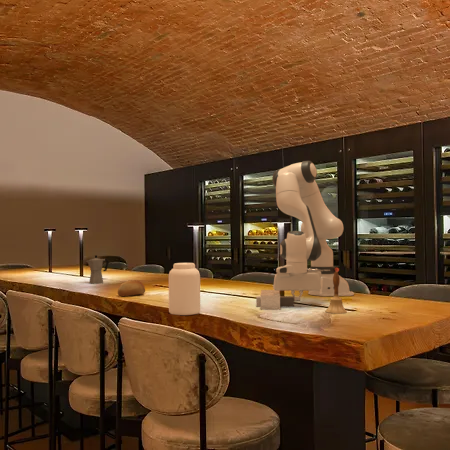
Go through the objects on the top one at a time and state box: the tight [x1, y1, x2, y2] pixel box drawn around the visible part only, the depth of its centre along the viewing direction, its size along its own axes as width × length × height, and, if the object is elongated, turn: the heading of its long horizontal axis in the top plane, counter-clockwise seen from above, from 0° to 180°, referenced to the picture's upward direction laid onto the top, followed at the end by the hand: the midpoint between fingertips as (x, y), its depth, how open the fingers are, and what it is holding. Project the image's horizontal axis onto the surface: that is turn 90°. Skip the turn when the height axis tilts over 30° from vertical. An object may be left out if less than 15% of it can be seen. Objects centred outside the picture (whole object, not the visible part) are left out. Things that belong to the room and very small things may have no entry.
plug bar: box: [255, 295, 295, 308], centre depth 223 cm, size 16×4×4 cm, turn 85°
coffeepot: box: [85, 255, 110, 285], centre depth 336 cm, size 15×9×18 cm, turn 125°
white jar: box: [168, 262, 201, 316], centre depth 207 cm, size 12×12×20 cm
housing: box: [259, 289, 281, 311], centre depth 224 cm, size 8×20×6 cm, turn 175°
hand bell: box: [325, 271, 348, 315], centre depth 205 cm, size 8×8×16 cm
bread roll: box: [117, 279, 146, 298], centre depth 266 cm, size 10×15×8 cm, turn 128°
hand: (297, 301), depth 222 cm, fingers closed
